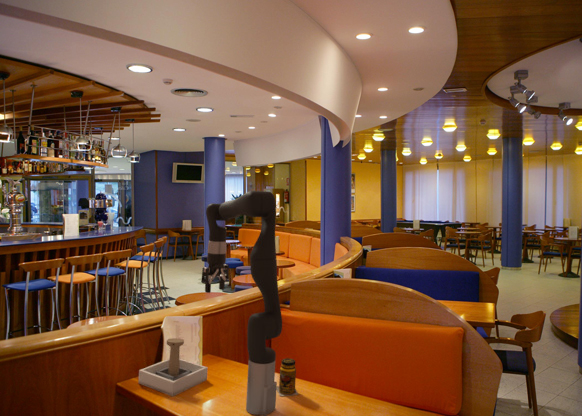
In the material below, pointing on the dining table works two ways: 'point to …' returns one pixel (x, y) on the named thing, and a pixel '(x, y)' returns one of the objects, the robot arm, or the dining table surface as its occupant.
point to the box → (168, 384)
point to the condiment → (287, 378)
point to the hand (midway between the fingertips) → (214, 291)
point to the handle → (174, 355)
